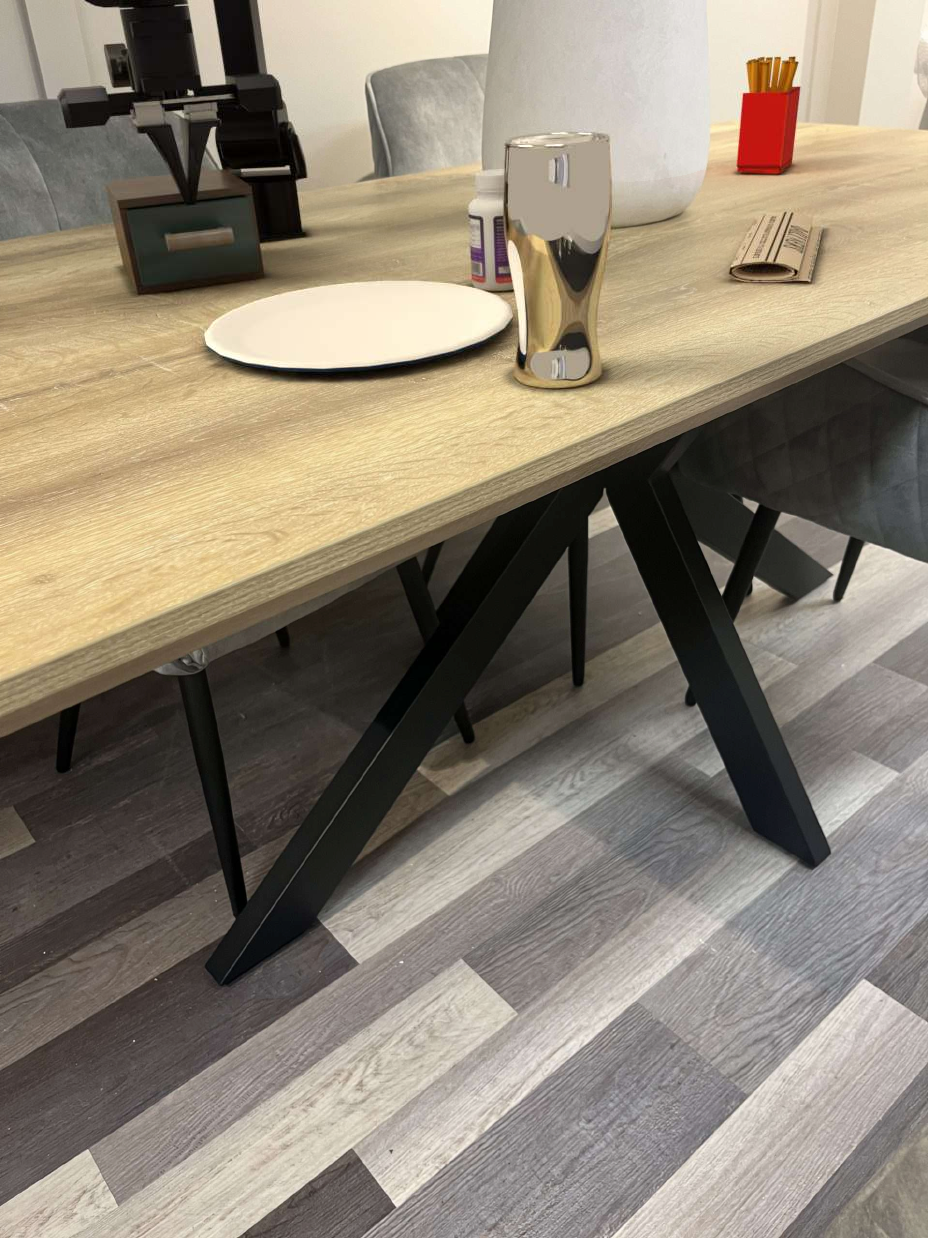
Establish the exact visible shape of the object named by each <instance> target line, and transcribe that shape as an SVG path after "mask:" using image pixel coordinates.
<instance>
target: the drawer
mask: <svg viewBox="0 0 928 1238" xmlns="http://www.w3.org/2000/svg"><path fill="white" fill-rule="evenodd" d="M197 201H201V202H196V204H195V205H190V206H187V205H186V204H185V203H184V202H180V203H183V204H176V203H171V204H174V205H167V204H162V205H166V206H161V205H153V206H144V207H136V208H127V209H128V210H126V213H127V218H128V223H129V227H130V232H131V236H132V241H133V246H134V250H135V255H136V259H137V264H138V268H139V273H140V278H141V282H142V285H143V287H146V286H154V285H161V284H168V283H176V282H183V281H190V280H198V279H205V278H212V277H220V276H227V275H234V274H242V273H249V272H256V271H260V267H259V260H258V254H257V247H256V241H255V234H254V228H253V221H252V215H251V209H250V202H249V198H248V197H246V196H245V197H235V196H233V197H224V198H215V199H206V200H197Z"/></svg>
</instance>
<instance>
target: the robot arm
mask: <svg viewBox="0 0 928 1238" xmlns="http://www.w3.org/2000/svg"><path fill="white" fill-rule="evenodd" d="M84 2H86V3H88V4H89V5H92V6H94V7H99V8H104V9H105V8H109V9H110V8H118V9H119V14H120V20H121V26H122V29H123V35H124V40H125V43H123V42H121V43H106V44H105V43H104V44H103V52H104V57H105V61H106V67H107V72H108V76H109V81H110V84H111V87H112V88H113V89H121V88H130V89H131V91H124V92H113V93H112V92H111V93H108V91H107V88H106V87H105V86H103V85H93V86H92V85H91V86H80V87H65V88H61V90H60V91H59V92H58V94H57V96H56V98H57V104H58V107H59V112H60V117H61V120H62V124H63V126H64V127H65V129H81V128H90V127H91V128H92V127H93V128H94V127H102V126H106V124H107V123H108V122H109V120H110V119H111V118H112V117H121V116H122V117H123V116H129V119H131V120H132V122H131V123H130V125H131V130H132V131H134V132H135V133H137V135H138V134H139V135H142V134H143V135H144V134H146V135H147V136H148V139H150V142H151V143H152V145H154V147H155V149H156V150H157V152H158V153H159V155H160V156H161V158H162V160H163V162H164V164H165V166H166V168H167V170H168V172H169V175H171V176H172V178H173V180H174V182H175V184H176V186H177V188H178V190H179V192H180V194H181V196H182V198H183V200H184V202H185V204H186V205H187V206H190V205H195V204H196V199H197V192H198V185H199V179H200V172H201V171H202V166H203V165H202V164H203V159H204V155H205V152H206V149H207V144H208V141H209V137H210V134H211V130H212V128H215V129H214V141H215V148H216V151H217V156H218V158H219V162H220V166H221V169H225V170H227V171H228V172H230V173H231V174H233V175H235V176H236V177H238V178H239V179H241V180H243V181H244V182H246V183H247V184H249V185H251V189H252V195H253V202H254V208H255V215H256V221H257V228H258V234H259V241H260V242H264V241H271V240H280V239H288V238H294V237H304V236H306V235H307V230H306V229H304V228H303V225H302V216H301V210H300V203H299V202H300V201H299V195H298V187H297V182H298V181H299V180H303V179H307V178H308V168H307V163H306V158H305V154H304V151H303V147H302V144H301V142H300V141H301V140H300V138H299V135H298V134H297V132H296V130H295V127H294V124H293V123H292V121H290V120H289V114H288V109H287V104H286V102H285V101H284V100H283V93H282V88H281V85H280V81H279V80H278V79H277V78H276V77H275V76H274V75H273V74H270V73H268V69H267V68H268V67H267V62H266V61H267V60H266V54H265V45H264V39H263V32H262V25H261V17H260V9H259V4H258V3H259V2H258V0H212V2H213V7H214V8H213V10H214V14H215V15H214V16H215V22H216V28H217V34H218V40H219V46H220V53H221V59H222V65H223V72H224V80H225V84H224V83H223V84H213V85H203V83H202V77H201V71H200V64H199V60H198V54H197V48H196V41H195V35H194V29H193V24H192V18H191V11H190V6H189V1H188V0H84ZM190 91H191V92H192V93H193V94H189V92H190ZM179 111H181V113H182V114H183V117H181V118H178V120H179V126H180V133H181V138H182V150H183V161H182V157H181V155H180V151H179V148H178V145H177V140H176V137H175V134H174V130H173V126H172V124H170V122H167V121H166V120H165V117H166V113H167V112H179ZM183 162H184V163H183ZM183 164H184V165H183ZM286 167H289V169H278V168H286ZM274 168H277V169H274ZM251 169H252V170H251ZM253 169H265V170H253ZM268 169H270V170H268ZM242 170H244V171H242ZM245 170H247V171H245Z"/></svg>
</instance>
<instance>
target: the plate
mask: <svg viewBox="0 0 928 1238" xmlns="http://www.w3.org/2000/svg"><path fill="white" fill-rule="evenodd" d="M513 319H514V316H513V311H512V306H511V304H509V303H508V302H507V301H505V300H504V299H503V298H501V297H500V296H499V295H497V294H494V293H491V292H490V291H484V290H480V289H477V288H475V287H474V286H473V287H472V286H467V285H462V284H456V283H451V282H440V281H427V280H373V281H372V280H370V281H357V282H356V281H354V282H344V283H337V284H329V285H321V286H313V287H307V288H304V289H298V290H292V291H287V292H282V293H279V294H275V295H271V296H268V297H264V298H260V299H257V300H254V301H252V302H249V303H246V304H244V305H241V306H238V307H236V308H233V309H231V310H229V311H228V312H226V313H225V314H223V315H221V316H219V317H218V318H216V319H214V320H213V322H212V323H211V324H210V325H209V327H208V328H207V330H206V331H205V332H204V334H203V335H204V339H205V345H206V348H207V349H208V350H209V351H211V352H213V353H214V354H216V355H217V356H219V357H220V358H221V359H222V360H223V359H224V360H227V361H229V362H233V363H237V364H239V365H243V366H246V367H250V368H259V369H266V370H271V371H279V372H301V373H302V372H304V373H337V372H354V371H370V370H378V369H386V368H393V367H400V366H406V365H407V366H408V365H414V364H418V363H423V362H426V361H432V360H436V359H441V358H445V357H448V356H449V357H450V356H453V355H455V354H458V353H461V352H464V351H466V350H470V349H472V348H475V347H478V346H480V345H483V344H485V343H486V342H488V341H490V340H492V339H493V338H495V337H497V336H498V335H500V334H502V333H503V332H505V330H506V329H507V327H508V326H509V325H510V324H511V322H512V321H513Z"/></svg>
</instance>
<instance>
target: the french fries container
mask: <svg viewBox="0 0 928 1238" xmlns="http://www.w3.org/2000/svg"><path fill="white" fill-rule="evenodd" d="M796 56H797V55H796ZM796 56H788V59H785V60H783V59H782V57H781V56H774V58H773V57H770V56H769V57H765V56H761V57H757V58H753V59H749V60H747V61H746V63H745V65H746V73H747V82H748V83H747V84H748V92H743V93H742V98H741V99H742V100H741V111H740V121H739V122H740V123H739V134H738V145H737V157H736V168H737V170H736V172H737V173H741V174H782V173H783V172H784V171H786V169H787V168H789V167H790V166H791V165H792V164H793V157H794V150H795V148H794V147H795V139H796V130H797V123H798V122H797V121H798V112H799V105H800V94H801V87H802V86H793V85H794V79H795V76H796V72H797V69H798V66H799V63H800V62H799V61H797V60H796ZM773 60H774V61H773ZM781 60H782V61H781Z"/></svg>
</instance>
